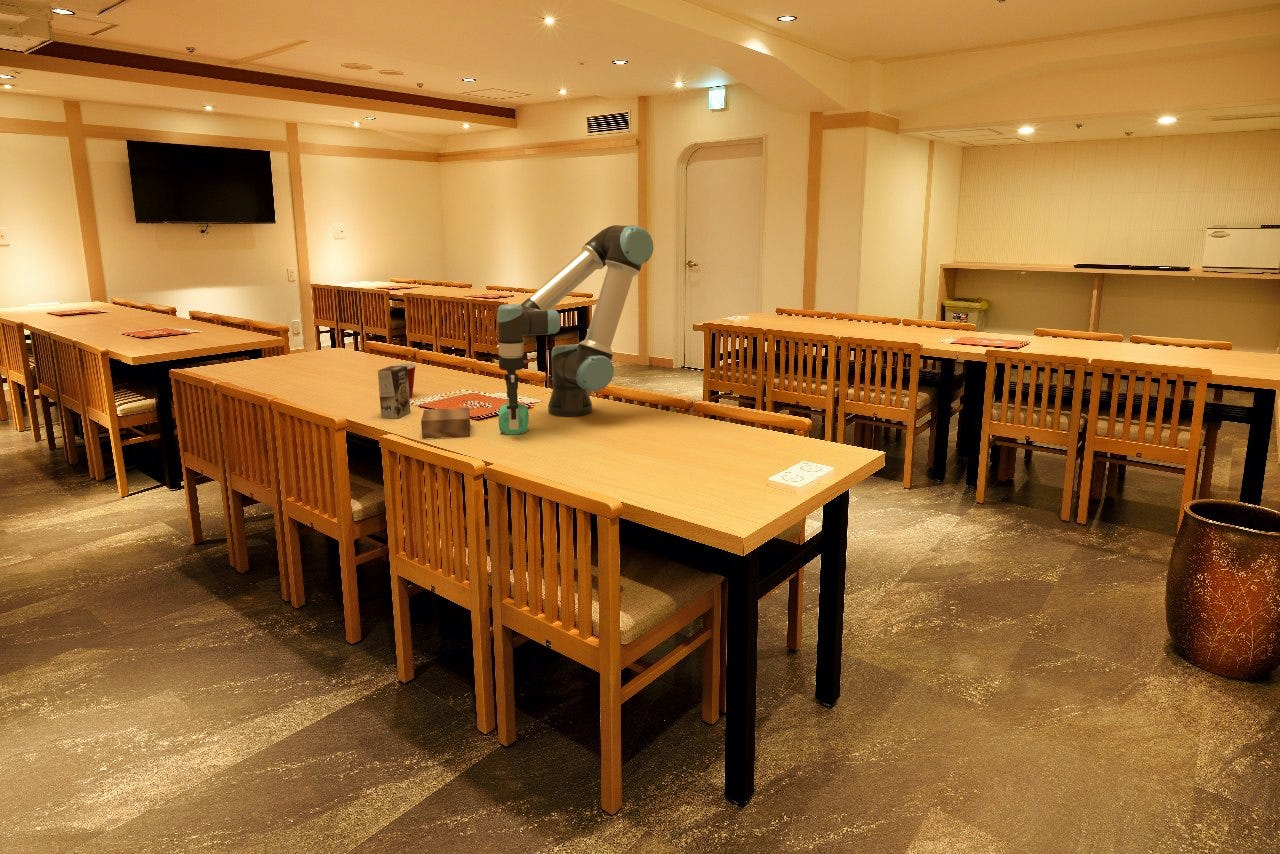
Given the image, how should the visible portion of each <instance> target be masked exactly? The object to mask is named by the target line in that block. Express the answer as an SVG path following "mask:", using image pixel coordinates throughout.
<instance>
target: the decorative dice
mask: <svg viewBox="0 0 1280 854" xmlns="http://www.w3.org/2000/svg"><path fill="white" fill-rule="evenodd" d="M507 406H509V404H503V405H501V406H500V407H499V411H498V429H499V431H500V432H501V433H502V434H504V435H508V436H509V435H510V436H511V435H513V436H514V435H516V434H517V435H523V434H525V433H527V432H528V430H529V417H530V415H529V414H530V413H529V408H528V407H527V405H525V404H523V403H518V429H517V430H509V409H507ZM522 433H523V434H522Z"/></svg>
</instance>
